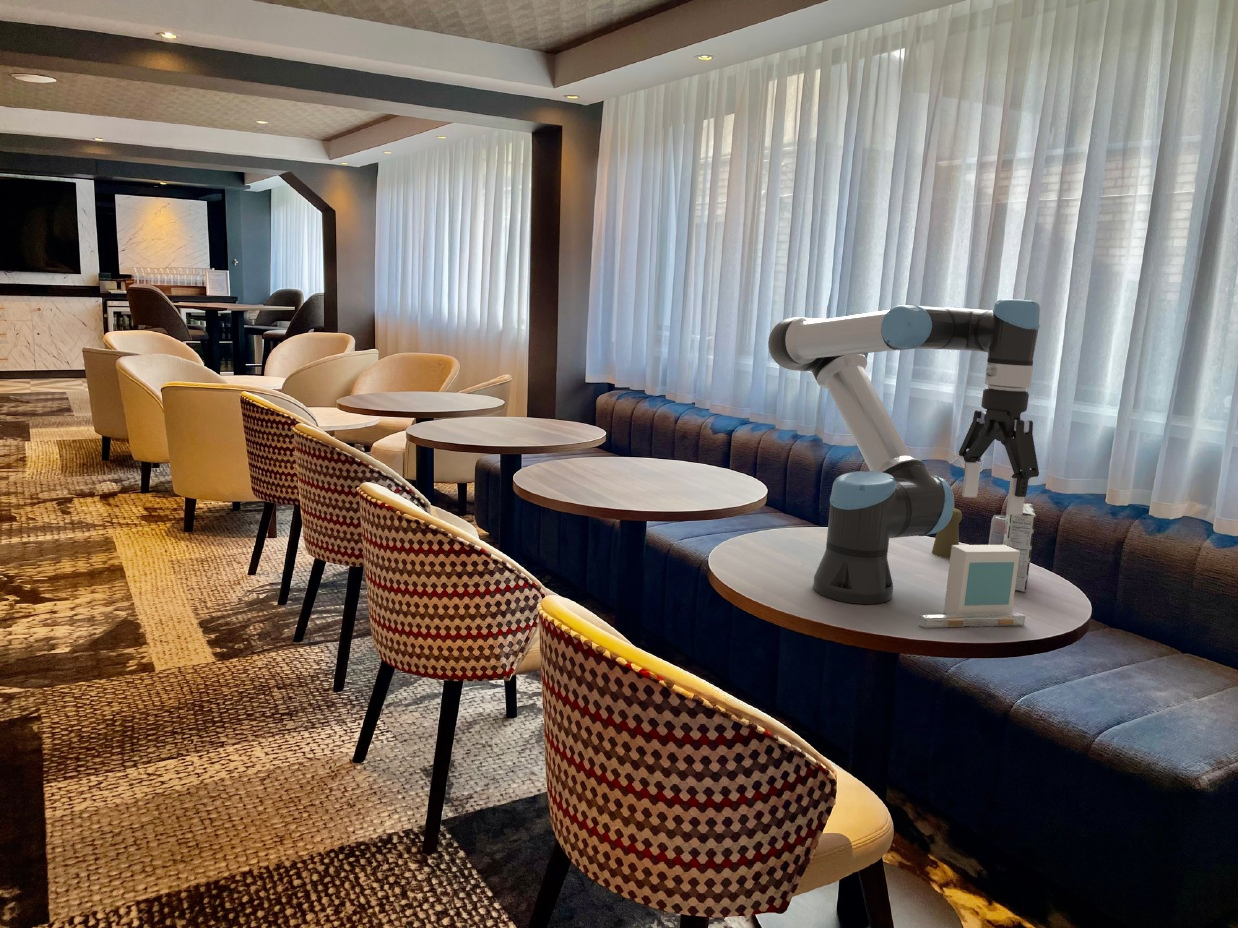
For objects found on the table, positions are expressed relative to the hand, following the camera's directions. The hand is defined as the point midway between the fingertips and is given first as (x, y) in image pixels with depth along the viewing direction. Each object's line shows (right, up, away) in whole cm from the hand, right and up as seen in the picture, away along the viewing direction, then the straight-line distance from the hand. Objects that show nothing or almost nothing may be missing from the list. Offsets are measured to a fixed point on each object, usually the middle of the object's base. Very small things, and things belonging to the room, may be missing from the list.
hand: (990, 505), depth 163 cm
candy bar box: (+15, -18, +26) cm, 34 cm away
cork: (+8, -14, +46) cm, 49 cm away
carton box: (-1, -21, +4) cm, 21 cm away
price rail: (-4, -21, -2) cm, 22 cm away
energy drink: (+16, -16, +35) cm, 42 cm away
